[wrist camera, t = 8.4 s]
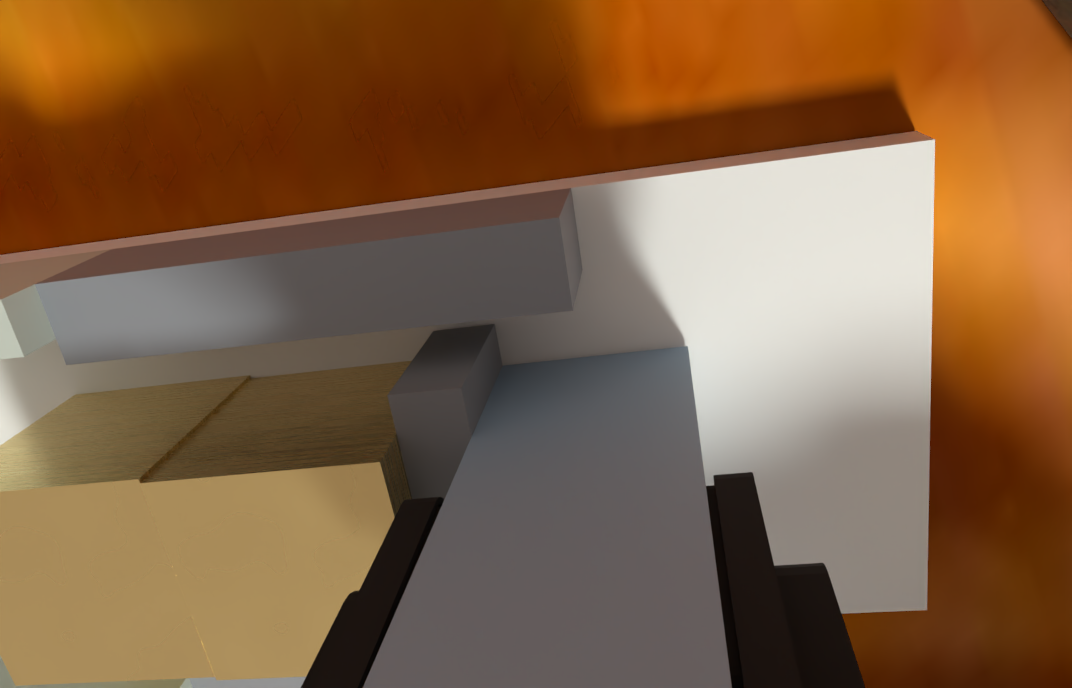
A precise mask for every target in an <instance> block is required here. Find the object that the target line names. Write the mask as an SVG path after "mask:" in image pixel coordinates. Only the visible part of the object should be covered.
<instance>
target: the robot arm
mask: <svg viewBox="0 0 1072 688" xmlns="http://www.w3.org/2000/svg"><path fill="white" fill-rule="evenodd" d="M713 476H714V485H712V486H706V491H707V499H708V506H709V514H710V522H711V530H712V537H713V545H714V553H715V561H716V568H717V576H718V584H719V592H720V599H721V607H722V615H723V623H724V630H725V638H726V646H727V654H728V661H729V669H730V677H731V685H732V688H865V685H864V682H863V679H862V676H861V673H860V670H859V667H858V664H857V661H856V657H855V654H854V651H853V648H852V645H851V642H850V639H849V636H848V633H847V630H846V626H845V623H844V620H843V617H842V614H841V611H840V608H839V605H838V602H837V598H836V595H835V592H834V589H833V586H832V583H831V580H830V577H829V574H828V571H827V568H826V566H825V565H824V563H810V564H793V565H776V566H774V563H773V558H772V554H771V549H770V545H769V541H768V536H767V532H766V528H765V523H764V519H763V515H762V510H761V506H760V502H759V497H758V493H757V488H756V484H755V480H754V476H753V473H752V472H746V473H733V474H720V475H713ZM443 502H444V499H443V498H442V497H431V498H418V499H407V500H404V501H403V502H402V504H401V506H400V508H399V510H398V512H397V514H396V516H395V518H394V520H393V522H392V524H391V526H390V528H389V530H388V532H387V534H386V536H385V539H384V541H383V543H382V545H381V547H380V549H379V551H378V553H377V555H376V557H375V559H374V561H373V563H372V565H371V567H370V569H369V571H368V573H367V576H366V578H365V580H364V582H363V584H362V586H361V588H360V590H359V591H353V592H352V593H350V594H349V595H348V596H347V598H346V599H345V601H344V602H343V604H342V606H341V608H340V610H339V612H338V614H337V616H336V618H335V620H334V622H333V624H332V626H331V628H330V630H329V632H328V634H327V636H326V638H325V640H324V642H323V644H322V646H321V648H320V650H319V652H318V654H317V656H316V658H315V660H314V662H313V664H312V666H311V668H310V670H309V672H308V674H307V676H306V678H305V680H304V682H303V684H302V686H301V688H363V686H364V684H365V681H366V679H367V677H368V674H369V672H370V670H371V668H372V665H373V663H374V661H375V658H376V656H377V654H378V651H379V649H380V647H381V644H382V642H383V640H384V638H385V635H386V633H387V631H388V628H389V626H390V624H391V621H392V619H393V617H394V615H395V612H396V610H397V608H398V605H399V603H400V601H401V598H402V596H403V594H404V591H405V589H406V587H407V585H408V582H409V580H410V578H411V575H412V573H413V571H414V568H415V566H416V564H417V562H418V559H419V557H420V555H421V552H422V550H423V548H424V545H425V543H426V541H427V539H428V536H429V534H430V532H431V529H432V527H433V525H434V522H435V520H436V518H437V515H438V513H439V511H440V509H441V506H442V504H443Z"/></svg>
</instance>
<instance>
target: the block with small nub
mask: <svg viewBox="0 0 1072 688" xmlns="http://www.w3.org/2000/svg"><path fill="white" fill-rule="evenodd" d="M387 396H388V400H389V405H390V409H391V413H392V417H393V421H394V425H395V429H396V434H397V438H398V442H399V446H400V450H401V454H402V459H403V463H404V467H405V471H406V475H407V479H408V483H409V488H410V492H411V496H412V499H418V498H431V497H442V498H443V499H444V502H443V504H442V506H441V509H440V511H439V513H438V515H437V518H436V520H435V522H434V525H433V527H432V529H431V532H430V534H429V536H428V539H427V541H426V543H425V545H424V548H423V550H422V552H421V555H420V557H419V559H418V562H417V564H416V566H415V568H414V571H413V573H412V575H411V578H410V580H409V582H408V585H407V587H406V589H405V591H404V594H403V596H402V598H401V601H400V603H399V605H398V608H397V610H396V612H395V615H394V617H393V619H392V621H391V624H390V626H389V628H388V631H387V633H386V635H385V638H384V640H383V642H382V644H381V647H380V649H379V651H378V654H377V656H376V658H375V661H374V663H373V665H372V668H371V670H370V672H369V674H368V677H367V679H366V681H365V684H364V686H363V688H732V685H731V677H730V669H729V661H728V654H727V646H726V638H725V630H724V623H723V615H722V607H721V599H720V592H719V584H718V576H717V568H716V561H715V553H714V545H713V537H712V530H711V522H710V514H709V506H708V499H707V491H706V483H705V475H704V468H703V460H702V452H701V444H700V436H699V429H698V421H697V413H696V405H695V398H694V390H693V382H692V374H691V367H690V359H689V351H688V346H684V347H674V348H665V349H656V350H646V351H637V352H627V353H618V354H608V355H599V356H589V357H580V358H570V359H561V360H551V361H542V362H532V363H523V364H514V365H504V366H503V365H502V360H501V355H500V349H499V344H498V339H497V334H496V328H495V324H489V325H481V326H472V327H463V328H454V329H446V330H437V331H433V332H432V334H431V335H430V336H429V338H428V339H427V341H426V342H425V343H424V345H423V346H422V348H421V349H420V350H419V352H418V353H417V355H416V356H415V357H414V359H413V360H412V362H411V363H410V364H409V366H408V367H407V368H406V370H405V371H404V373H403V374H402V375H401V377H400V378H399V380H398V381H397V382H396V384H395V385H394V387H393V388H392V389H391V391H390V392H389V394H388V395H387Z"/></svg>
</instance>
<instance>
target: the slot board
mask: <svg viewBox="0 0 1072 688" xmlns="http://www.w3.org/2000/svg"><path fill="white" fill-rule="evenodd" d="M934 167H935V139H933V138H931V137H928V136H926V135H924V134H922V133H920V132H918V131H912V132H905V133H898V134H890V135H883V136H875V137H868V138H861V139H853V140H846V141H838V142H831V143H824V144H816V145H809V146H801V147H794V148H787V149H779V150H772V151H764V152H757V153H750V154H742V155H735V156H728V157H720V158H713V159H705V160H698V161H691V162H683V163H676V164H668V165H661V166H654V167H646V168H639V169H631V170H624V171H617V172H609V173H602V174H594V175H587V176H580V177H572V178H565V179H558V180H550V181H543V182H535V183H528V184H521V185H513V186H506V187H498V188H491V189H484V190H476V191H469V192H461V193H454V194H447V195H439V196H432V197H425V198H417V199H410V200H402V201H395V202H388V203H380V204H373V205H365V206H358V207H351V208H343V209H336V210H328V211H321V212H314V213H306V214H299V215H291V216H284V217H277V218H269V219H262V220H255V221H247V222H240V223H232V224H225V225H218V226H210V227H203V228H195V229H188V230H181V231H173V232H166V233H158V234H151V235H144V236H136V237H129V238H122V239H114V240H107V241H99V242H92V243H85V244H77V245H70V246H62V247H55V248H48V249H40V250H33V251H25V252H18V253H11V254H3V255H0V445H2V444H3V443H5V442H6V441H8V440H9V439H10V438H12V437H13V436H15V435H16V434H18V433H19V432H21V431H22V430H24V429H25V428H27V427H28V426H30V425H31V424H33V423H34V422H35V421H37V420H38V419H40V418H41V417H43V416H44V415H46V414H47V413H49V412H50V411H52V410H53V409H55V408H56V407H58V406H59V405H60V404H62V403H63V402H65V401H66V400H68V399H69V398H71V397H72V396H74V395H76V394H85V393H94V392H103V391H112V390H121V389H130V388H139V387H148V386H157V385H166V384H175V383H184V382H193V381H202V380H211V379H220V378H229V377H238V376H247V375H250V377H251V378H259V377H268V376H277V375H286V374H295V373H304V372H313V371H322V370H331V369H340V368H349V367H358V366H367V365H376V364H385V363H394V362H403V361H412V360H413V359H414V357H415V356H416V355H417V353H418V352H419V350H420V349H421V348H422V346H423V345H424V343H425V342H426V341H427V339H428V338H429V336H430V335H431V334H432V332H433V331H437V330H446V329H454V328H463V327H472V326H481V325H489V324H495V328H496V334H497V339H498V344H499V349H500V355H501V360H502V365H503V366H504V365H514V364H523V363H532V362H542V361H551V360H561V359H570V358H580V357H589V356H599V355H608V354H618V353H627V352H637V351H646V350H656V349H665V348H674V347H684V346H688V351H689V359H690V367H691V374H692V382H693V390H694V398H695V405H696V413H697V421H698V429H699V436H700V444H701V452H702V460H703V468H704V475H705V483H706V486H712V485H714V476H713V475H720V474H733V473H746V472H752V473H753V476H754V480H755V484H756V488H757V493H758V497H759V502H760V506H761V510H762V515H763V519H764V523H765V528H766V532H767V536H768V541H769V545H770V549H771V554H772V558H773V563H774V566H776V565H793V564H810V563H824V565H825V566H826V568H827V571H828V574H829V577H830V580H831V583H832V586H833V589H834V592H835V595H836V598H837V602H838V605H839V608H840V611H841V614H847V613H870V612H894V611H917V610H927V583H928V524H929V464H930V405H931V345H932V286H933V226H934ZM305 678H306V677H285V678H261V679H237V680H216V678H215V677H208V678H184V679H161V680H138V681H115V682H92V683H68V684H45V685H22V686H15V684H14V682H13V680H12V678H11V676H10V674H9V672H8V670H7V668H6V666H5V664H4V662H3V660H2V658H1V656H0V688H301V686H302V684H303V682H304V680H305Z"/></svg>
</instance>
